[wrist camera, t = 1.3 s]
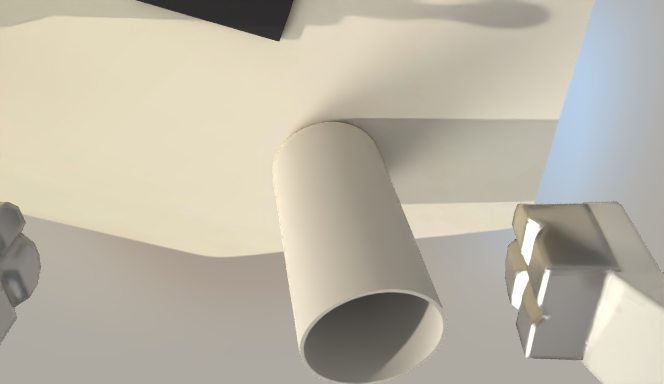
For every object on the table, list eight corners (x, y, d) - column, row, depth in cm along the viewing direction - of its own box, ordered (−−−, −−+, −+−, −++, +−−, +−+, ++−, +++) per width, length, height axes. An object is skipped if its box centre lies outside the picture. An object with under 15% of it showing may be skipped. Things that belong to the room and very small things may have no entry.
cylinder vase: (383, 115, 66) (459, 281, 47) (373, 202, 73) (435, 376, 54) (270, 121, 64) (300, 298, 45) (272, 210, 71) (298, 393, 52)
